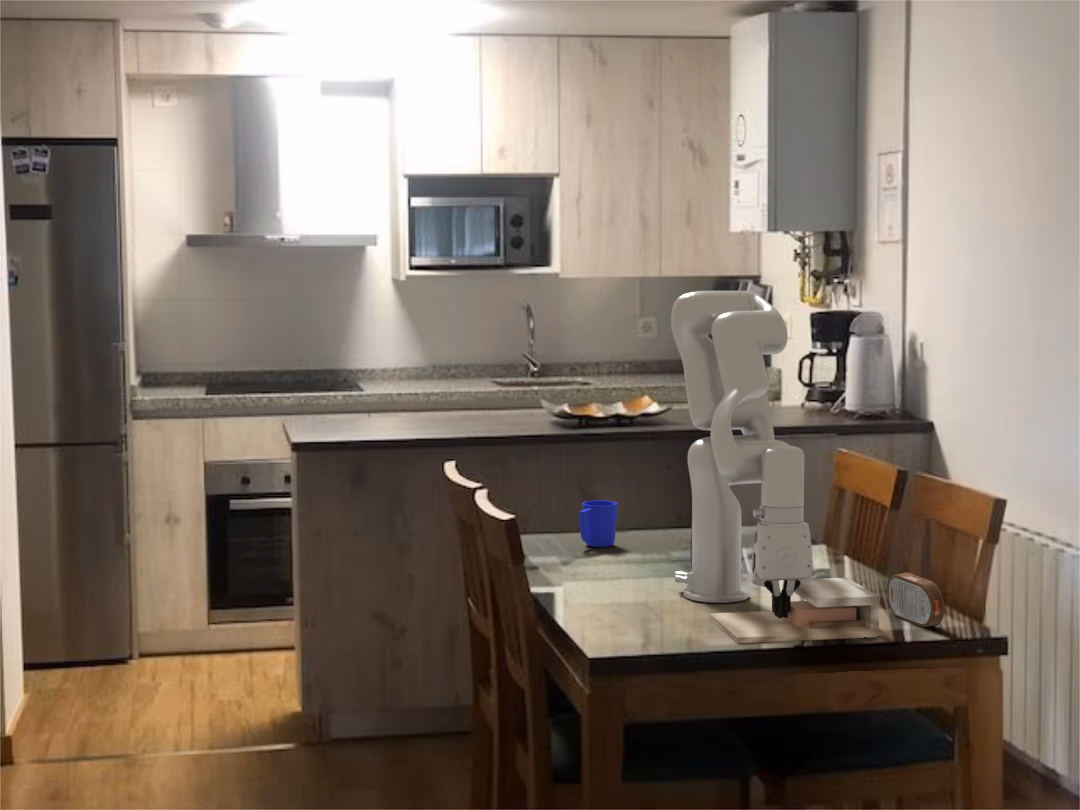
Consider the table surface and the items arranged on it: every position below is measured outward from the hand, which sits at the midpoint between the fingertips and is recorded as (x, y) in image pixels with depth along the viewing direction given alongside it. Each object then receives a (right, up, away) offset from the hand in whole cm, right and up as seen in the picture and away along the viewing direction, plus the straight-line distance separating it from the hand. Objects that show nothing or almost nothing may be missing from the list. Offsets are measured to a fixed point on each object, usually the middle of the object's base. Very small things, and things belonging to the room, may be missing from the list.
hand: (781, 616), depth 270 cm
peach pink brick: (+7, -1, +1) cm, 7 cm away
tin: (+25, -2, +5) cm, 26 cm away
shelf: (+3, -2, +1) cm, 3 cm away
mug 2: (-7, +2, +51) cm, 51 cm away
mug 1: (-30, +5, +78) cm, 84 cm away
